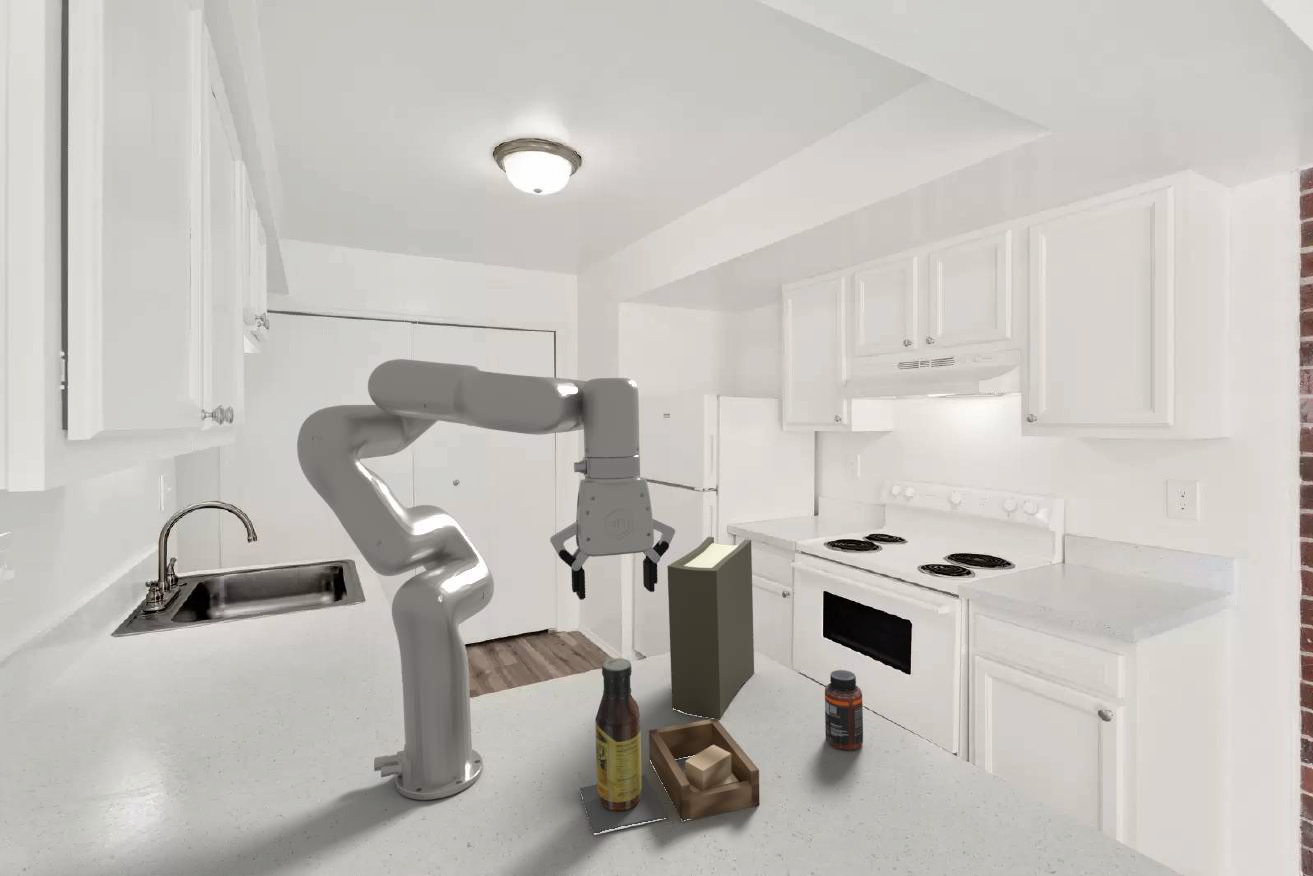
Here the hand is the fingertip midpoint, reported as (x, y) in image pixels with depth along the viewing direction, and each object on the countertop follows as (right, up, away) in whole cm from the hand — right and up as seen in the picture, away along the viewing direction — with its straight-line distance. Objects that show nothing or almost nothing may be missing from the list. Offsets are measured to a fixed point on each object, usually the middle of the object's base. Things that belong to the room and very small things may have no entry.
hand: (615, 593), depth 88 cm
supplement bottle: (+36, -29, +17) cm, 49 cm away
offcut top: (+13, -27, +3) cm, 30 cm away
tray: (+12, -30, +7) cm, 33 cm away
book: (+17, -28, +36) cm, 49 cm away
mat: (+1, -30, +2) cm, 30 cm away
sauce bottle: (+1, -30, +2) cm, 30 cm away
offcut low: (+13, -30, +3) cm, 33 cm away
